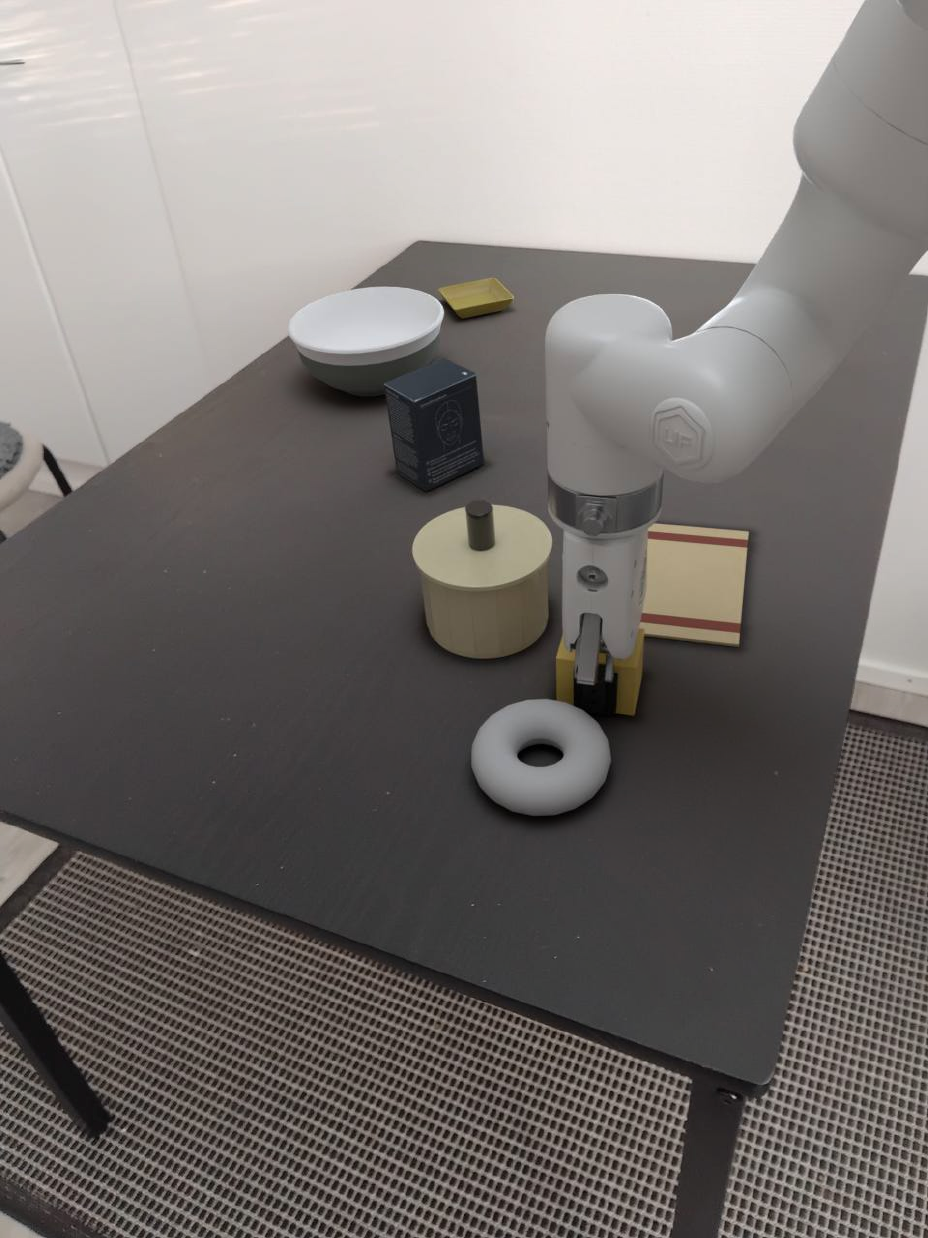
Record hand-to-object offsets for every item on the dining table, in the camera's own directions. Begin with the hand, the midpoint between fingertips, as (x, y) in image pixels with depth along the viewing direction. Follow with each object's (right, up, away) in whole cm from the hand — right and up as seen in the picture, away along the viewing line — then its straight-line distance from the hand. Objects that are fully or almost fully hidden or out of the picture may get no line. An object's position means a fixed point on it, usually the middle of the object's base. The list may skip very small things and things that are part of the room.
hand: (600, 685), depth 76 cm
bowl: (-22, +35, +45) cm, 61 cm away
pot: (-9, +5, +8) cm, 13 cm away
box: (-13, +21, +28) cm, 37 cm away
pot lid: (-9, +11, +3) cm, 15 cm away
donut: (-5, -6, -5) cm, 9 cm away
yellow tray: (-9, +48, +60) cm, 78 cm away
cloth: (+9, +9, +10) cm, 16 cm away
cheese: (0, 0, 0) cm, 1 cm away
